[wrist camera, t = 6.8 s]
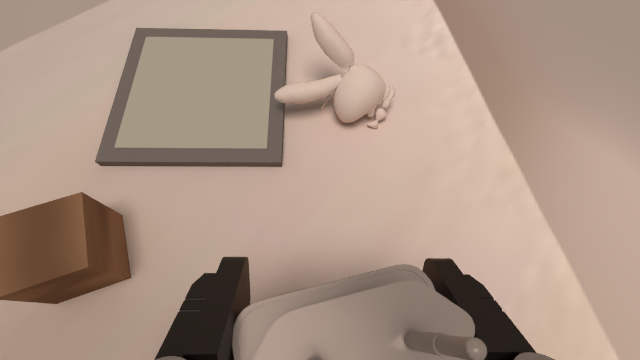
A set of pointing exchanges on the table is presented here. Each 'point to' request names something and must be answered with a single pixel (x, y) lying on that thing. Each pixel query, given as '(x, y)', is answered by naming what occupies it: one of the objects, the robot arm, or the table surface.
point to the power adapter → (359, 322)
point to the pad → (198, 100)
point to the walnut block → (61, 250)
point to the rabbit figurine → (341, 81)
